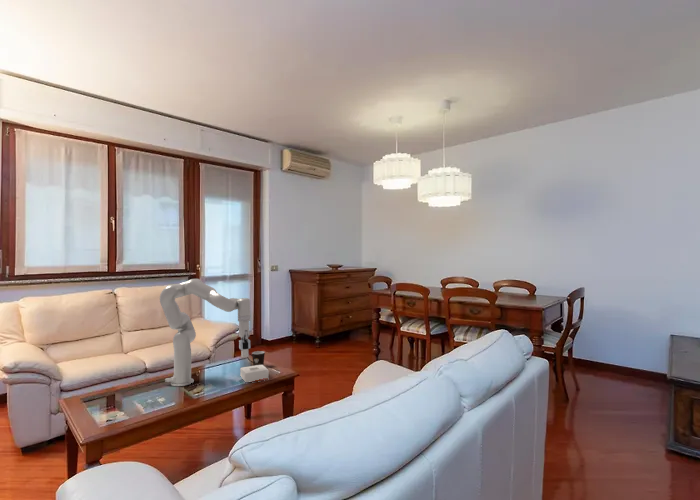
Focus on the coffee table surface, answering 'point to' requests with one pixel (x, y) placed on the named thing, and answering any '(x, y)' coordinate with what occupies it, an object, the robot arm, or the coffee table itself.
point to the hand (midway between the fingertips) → (244, 347)
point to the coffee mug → (257, 358)
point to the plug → (244, 351)
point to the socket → (253, 373)
